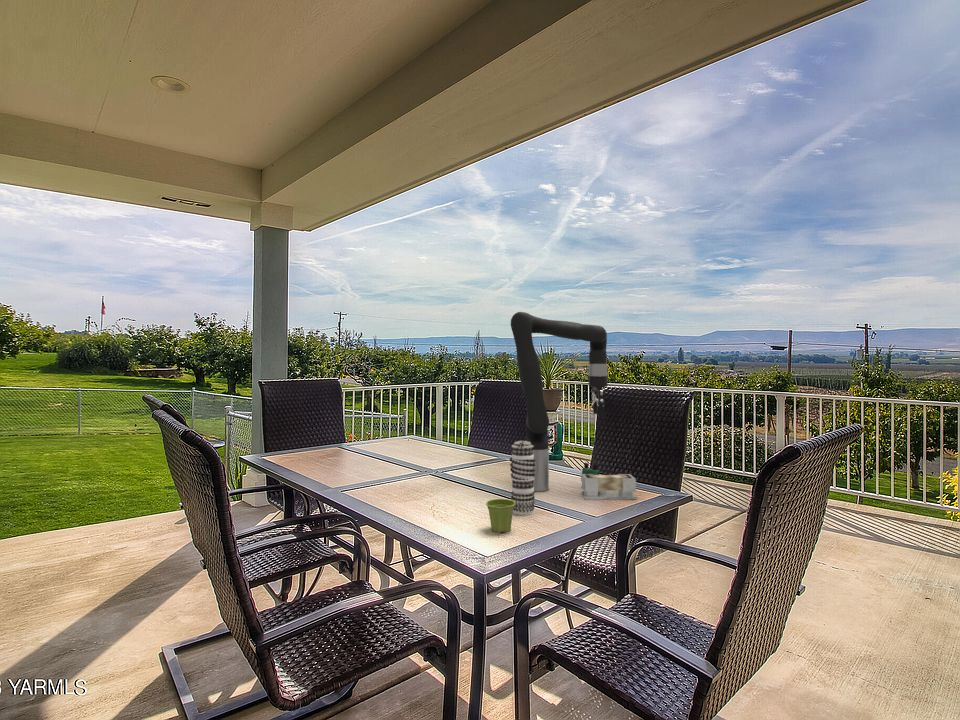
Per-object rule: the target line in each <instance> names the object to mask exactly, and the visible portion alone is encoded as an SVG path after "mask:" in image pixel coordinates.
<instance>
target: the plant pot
mask: <svg viewBox="0 0 960 720" xmlns="http://www.w3.org/2000/svg"><path fill="white" fill-rule="evenodd" d="M485 504H486V506H487V509H488V513H489V520H490V521H489V523H490V529H491V531H492V532H494V533H508V532H510V531H511V529H512V521H513V514H514V513H513V509H514V505H515V504H516V503H515V501H513V499H510V498H509V499H507V498H496V499H489V500H488V501H486V502H485Z"/></svg>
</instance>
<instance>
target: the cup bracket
mask: <svg viewBox="0 0 960 720" xmlns="http://www.w3.org/2000/svg"><path fill="white" fill-rule="evenodd" d="M588 475H594V474H582V473H581V477H582V481H581V488H582V487H583V488H582V489H583V490H582V491H581V492H580V495H581V496H582V495H583V496H582V497H583V499H584V498H585V499H584V500H626V499H638V498H637V496H636V495H635V494H634V493H637V480H636V479H637V478H635V477H634V476H633V475H632V474H630V473H617V475H626V476H628V477H629V478H622V490H598V478H588Z"/></svg>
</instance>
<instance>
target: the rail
mask: <svg viewBox="0 0 960 720" xmlns="http://www.w3.org/2000/svg"><path fill="white" fill-rule="evenodd" d="M588 478H598V491H618V490H622V478H629V477H628V476H626V475H618V474H599V475H588Z"/></svg>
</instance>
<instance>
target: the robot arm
mask: <svg viewBox="0 0 960 720" xmlns="http://www.w3.org/2000/svg"><path fill="white" fill-rule="evenodd" d="M510 328H511V331H512V335H513V339H514V344H515V348H516V359H517V367H518V374H519V380H520V385H521V388H522V392H523V395H524V397H525V401H526V408H527V409H526V410H527V415H526V419H525V438H526V439H525V441H529V442H531V444H532V445H533V446H534V447H533V454H534V458H533V459H535V460H536V461H535V462H533V463H534V464H535V466H533V469H535V471H534V472H533V473H534V474H535V476H533V477H534V480H533V487H534V492H546V491H548V490H549V489H550V472H549V471H550V470H549V469H550V467H549V466H550V465H549V463H550V462H549V459H550V458H549V456H550V454H549V453H550V451H549V449H550V448H549V436H548V433H549V432H548V428H549V427H550V418H549V416H548V413H547V408H546V404H545V399H544V388H543V387H544V385H543V384H544V383H543V376H542V370H541V369H542V368H541V364H540V359H539V357H538V354H537V351H536V349H535V346H534V342H533V341H534V340H533V334H541V335H542V334H543V335H549V336H554V337H557V338H562V339H568V340H574V341H585V342H589V353H588V387H590V388H591V403H592V406H593V411H592V412H593V414H594V415H597V416H598V417H604V406H606V393H605V392H606V391H605V390H604V389H603V388H607V387H608V386H609V385H608V383H609V381H608V379H609V377H608V371H609V370H608V364H607V363H608V357H607V355H608V354H607V343H608V342H607V341H608V333H607V331H606V329H605V328H604V327H603V326H601V325H597V324H586V323H579V322H573V321H568V320H567V321H566V320H556V319H555V320H554V319H553V320H552V319H546V318H541V317H537V316H535V315H532V314H530V313H528V312H523V311H517V312H516V313H514V314H513V315H512V316H511V318H510Z"/></svg>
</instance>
